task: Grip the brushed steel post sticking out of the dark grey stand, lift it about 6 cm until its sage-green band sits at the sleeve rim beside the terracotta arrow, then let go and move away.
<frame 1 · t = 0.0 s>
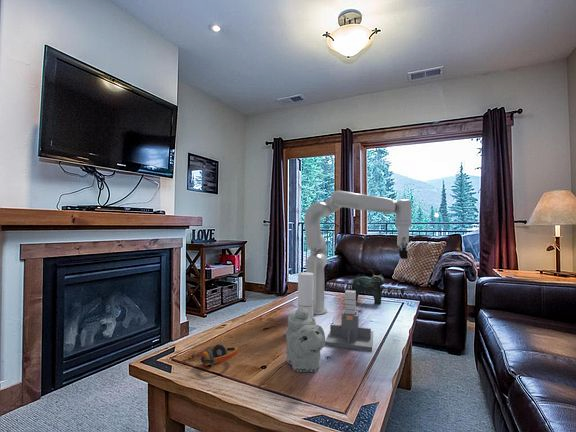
hand: (403, 257, 156), 31 cm above the table, tool pointing down, fingers open, 9 cm apart
headphones: (211, 362, 107), on the table
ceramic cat: (366, 302, 189), on the table
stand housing: (350, 339, 127), on the table
cylindrical container: (305, 328, 141), on the table
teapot: (304, 368, 102), on the table
steel post: (350, 313, 128), point 11 cm above the table, slide at 0.0 cm
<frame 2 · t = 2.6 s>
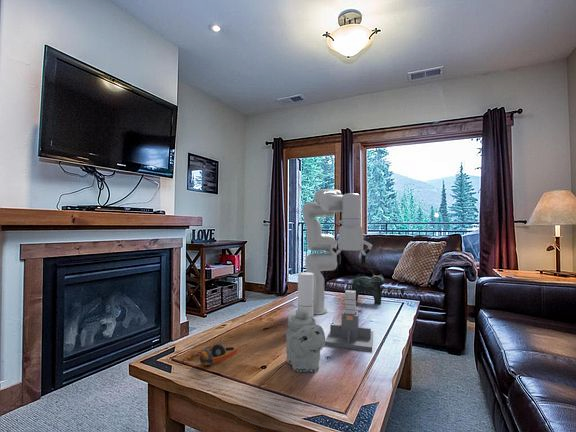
hand: (350, 264, 128), 31 cm above the table, tool pointing down, fingers open, 9 cm apart
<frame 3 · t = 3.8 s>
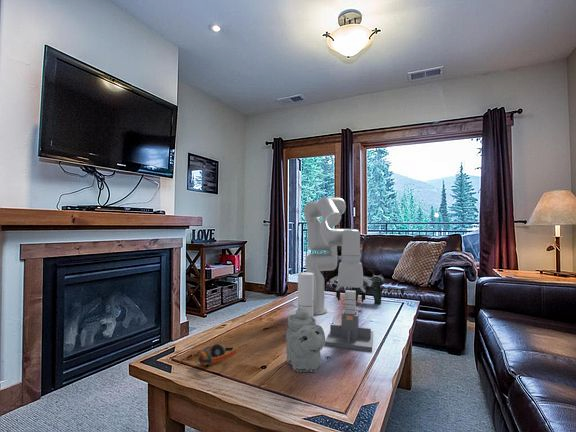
hand: (350, 300, 128), 16 cm above the table, tool pointing down, fingers open, 9 cm apart
nothing on the table moved.
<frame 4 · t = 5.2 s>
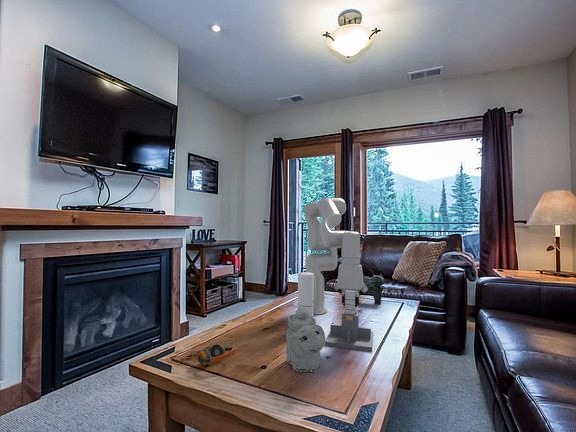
hand: (350, 305, 128), 14 cm above the table, tool pointing down, fingers closed on steel post, 4 cm apart
steel post: (350, 313, 128), point 11 cm above the table, slide at 0.0 cm, touching gripper
everything else where it was.
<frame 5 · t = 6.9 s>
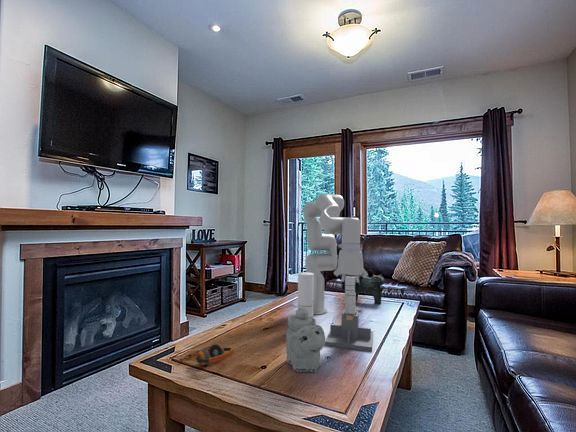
hand: (350, 291, 128), 20 cm above the table, tool pointing down, fingers closed on steel post, 4 cm apart
steel post: (350, 299, 128), point 17 cm above the table, slide at 5.8 cm, touching gripper
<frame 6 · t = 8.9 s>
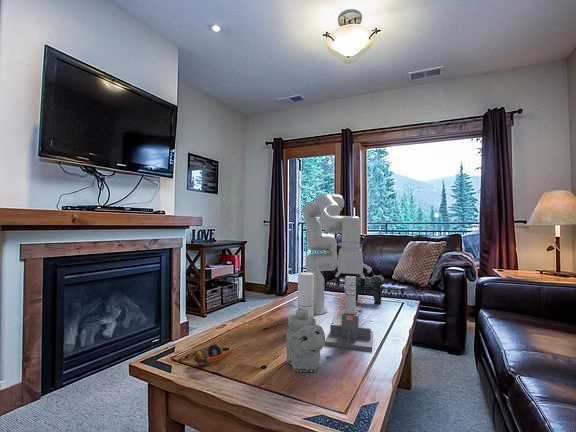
hand: (350, 287, 128), 22 cm above the table, tool pointing down, fingers open, 9 cm apart
steel post: (350, 298, 128), point 17 cm above the table, slide at 5.9 cm
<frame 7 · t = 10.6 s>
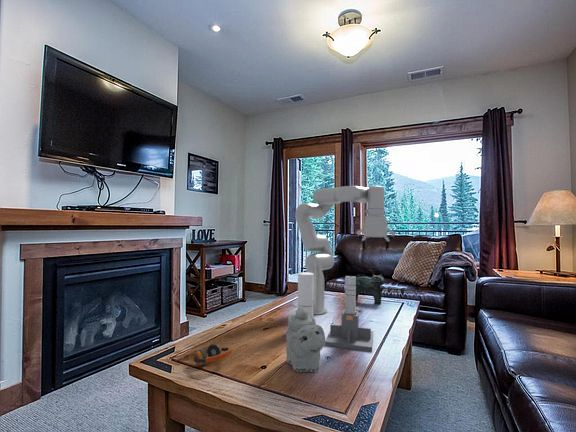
hand: (375, 249, 142), 36 cm above the table, tool pointing down, fingers open, 9 cm apart
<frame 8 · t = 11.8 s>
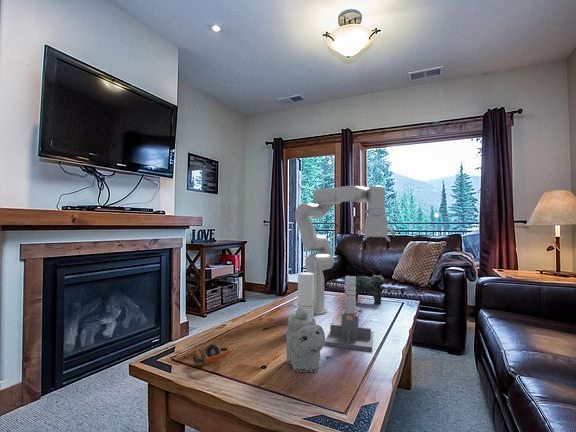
hand: (376, 249, 143), 36 cm above the table, tool pointing down, fingers open, 9 cm apart
at the end: steel post slide at 5.9 cm; the gripper is holding nothing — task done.
